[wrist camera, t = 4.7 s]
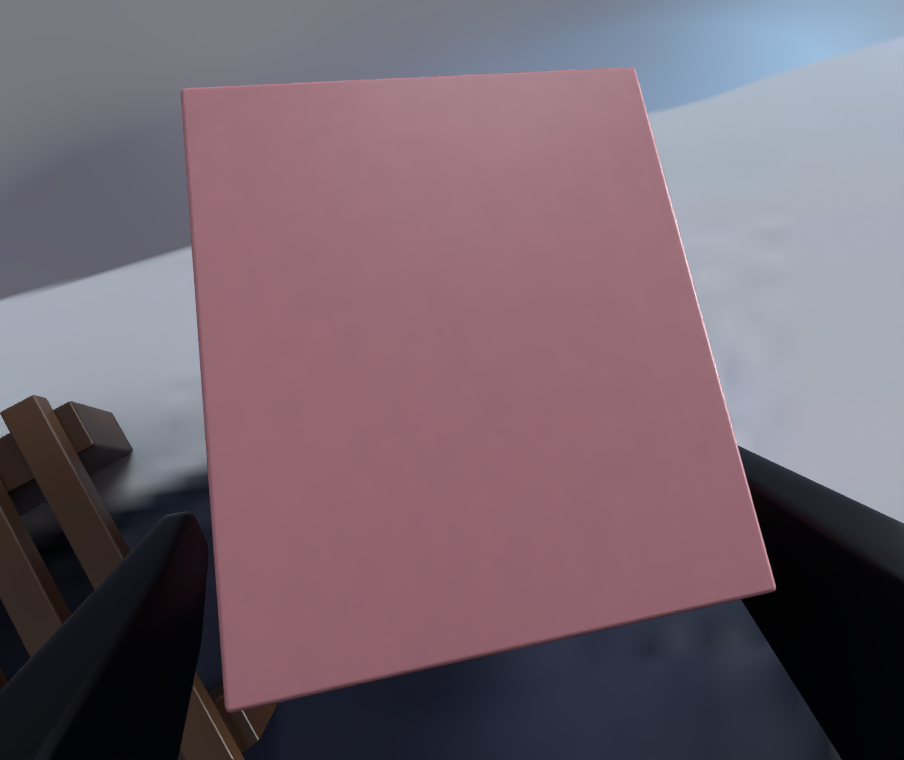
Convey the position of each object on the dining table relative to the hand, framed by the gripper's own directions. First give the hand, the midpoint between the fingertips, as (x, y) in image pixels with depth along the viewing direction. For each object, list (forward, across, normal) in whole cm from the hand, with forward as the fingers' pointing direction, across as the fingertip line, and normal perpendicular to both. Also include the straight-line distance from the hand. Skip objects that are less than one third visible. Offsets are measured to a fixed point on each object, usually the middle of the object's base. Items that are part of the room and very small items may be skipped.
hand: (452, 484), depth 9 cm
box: (+8, 0, +5) cm, 9 cm away
